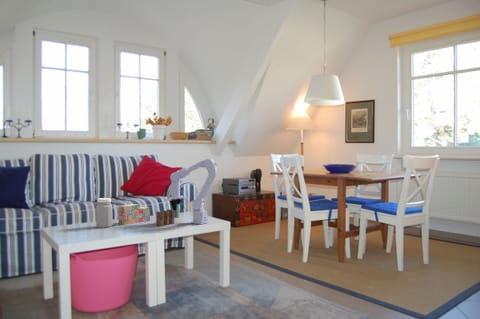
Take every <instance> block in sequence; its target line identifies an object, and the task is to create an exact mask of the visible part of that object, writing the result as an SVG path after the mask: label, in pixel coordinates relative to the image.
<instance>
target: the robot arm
mask: <svg viewBox="0 0 480 319" xmlns="http://www.w3.org/2000/svg"><path fill="white" fill-rule="evenodd" d="M200 168H205V169H206V171H207V174H208V176H207V178H206V179H205V181H204V183H203V186H202V187H201V190H200V192H199V194H198V195H197V197H196V199H195V200H194V201H193V202H192V204H191V205H192V206H191V207H192V221H190V222H189V223H190V224H197V225H205V224H209V221H208V216H209V215H208V211H207V210H205V208H204V206H205V201H206V198H207V196H208V194H209V192H210V189H211V187H212V186H213V184H214V181H215V180H216V177H217V175H218V171H217V170H218V169H217V163H216V161H215V159H213V158H205V159H204V160H200V161H199V162H197V163H195V164H193V165H191V166H190V167H188V166H183V167H181V169H179V170H176V171H175V172H172V173H171V174H170V180H171V182H170V183H171V184H170V185H171V187H170V188H171V189H170V190H171V191H170V192H171V193H170V194H171V195H170V196H169V197H167V202H169V203H170V205H171V209H172V208H173V210H174V211H176V205H177V204H179V206H180V205H181V203H182V200H183V199H185V198H184V197H185V196H184V195H181V188H180V187H181V184H180V182H181V179H184V178H186V177H188V176H189V175H190V174H191V172H194V171H196V170H198V169H200Z"/></svg>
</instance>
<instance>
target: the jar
mask: <svg viewBox="0 0 480 319" xmlns="http://www.w3.org/2000/svg"><path fill="white" fill-rule="evenodd" d="M95 211H96V213H95V217H96V218H95V222H96V225H95V226H96V227H97V228H99V229H107V228H112V226H113V223H114V222H113V205H112V198H111V197H100V198H97V204H96V206H95Z"/></svg>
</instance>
